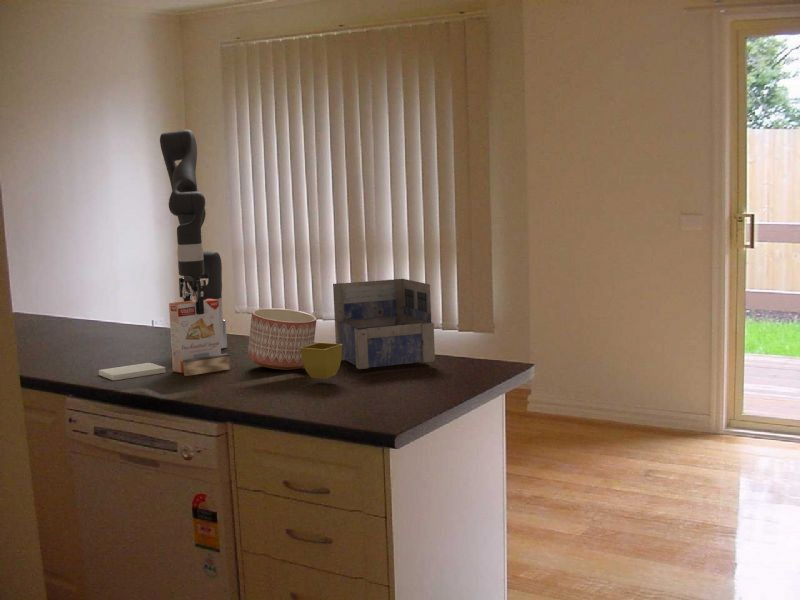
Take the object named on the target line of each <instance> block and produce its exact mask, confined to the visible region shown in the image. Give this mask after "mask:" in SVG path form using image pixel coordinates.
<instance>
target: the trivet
mask: <svg viewBox="0 0 800 600" xmlns="http://www.w3.org/2000/svg"><path fill="white" fill-rule="evenodd" d="M166 372H167V370H166V366H161V365H159V364H157V363H152V362H145V363H137V364H132V365H131V364H130V365H125V366H119V367H118V366H117V367H110V368H104V369H98V375H99V376H101V377H103V378H105V379H109V380H111V381H118V380H119V381H120V380H125V379H132V378H139V377H144V376H152V375H159V374H164V373H166Z"/></svg>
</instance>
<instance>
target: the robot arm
mask: <svg viewBox="0 0 800 600" xmlns="http://www.w3.org/2000/svg"><path fill="white" fill-rule="evenodd" d="M159 144H160V150H161V154H162V156H163V161H164V164H165V167H166V170H167V174H168V177H169V182H170V186H171V187H170V188H171V193H170V196H169V199H168V209H169V211H170V213H171V214H172V215H173V216H175V217H177V220H178V223H179V225H178V226H177V228H176V238H177V239H176V240H177V251H176V252H177V255H176V256H177V265H178V268H177V269H178V275H179V276H180V278H178V285H179V288H178V289H179V297H180V298H182V301H183V302H184V301H192V297H193V300H195V301H196V314H198V315H200V314H204V302H203V301H205V300H206V299H216V300H219V319H220V340H221V350H222V349H226V348H228V339H227V325H226V324H227V323H226V322H227V321H226V320H225V319H224V315H223V298H222V297H223V294H222V291H223V283H222V282H223V280H222V279H223V278H222V277H223V268H222V267H223V266H222V265H223V263H222V258H221V255H220V253H219V252H217V251H213V250H212V251H204V249H203V243H202V242H203V241H202V226H203V225H204V222H205V220H206V214H207V213H206V209H205V208H206V198H205V196H204V194H203V193H202V192H200V191H199V190H198V183H197V175H196V170H197V163H198V162H197V161H198V145H197V140H196V136H195V134H194V132H193V131H192V130H190V129H180V130H179V129H178V130H175V131H169V132H168V131H167V132H163V133H161V134H160V137H159ZM176 161H180V162H178V164H177V163H176ZM207 279H208V280H207ZM206 280H207V282H206Z"/></svg>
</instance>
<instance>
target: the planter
mask: <svg viewBox="0 0 800 600" xmlns="http://www.w3.org/2000/svg"><path fill="white" fill-rule="evenodd" d="M317 320H318V319H317V317H316V316H315V315H313V314H311V313H308V312H305V311H299V310H294V309H288V308H276V307H275V308H274V307H272V308H271V307H267V308H266V307H265V308H257V309H253V310H252V311H251V320H250V329H249V339H248V347H247V357H248V358H249V360H251V361H253V363H255V364H256V365H258V366H261V367H263V368H269V369H275V370H285V371H286V370H287V371H290V370H300V369H302V368H304V365H303V361H302V356H301V350H300V348H301V347H304V346H308V345H312V344H315V339H316V338H315V336H316V327H317Z"/></svg>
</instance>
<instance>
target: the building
mask: <svg viewBox="0 0 800 600" xmlns="http://www.w3.org/2000/svg"><path fill="white" fill-rule="evenodd" d="M332 290H333V310H334V311H333V312H334V332H335V336H334V337H335V344H342V356H341V359H342V360H345V361H347V362H349V363H351V364H352V365H354V366H355V368H356V369H358V370H363V369H364V370H365V369H370V368H376V367H387V366H395V365H403V364H404V365H405V364H414V363H427V362H428V363H429V362H436V353H435V331H434V330H435V326H434V325H435V324H434V322H432V309H431V307H432V305H431V284H429V283H425V282H419V281H415V280H411V279H407V278H393V279H385V280H384V279H382V280H381V279H380V280H368V281H355V282H338V283H332Z"/></svg>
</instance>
